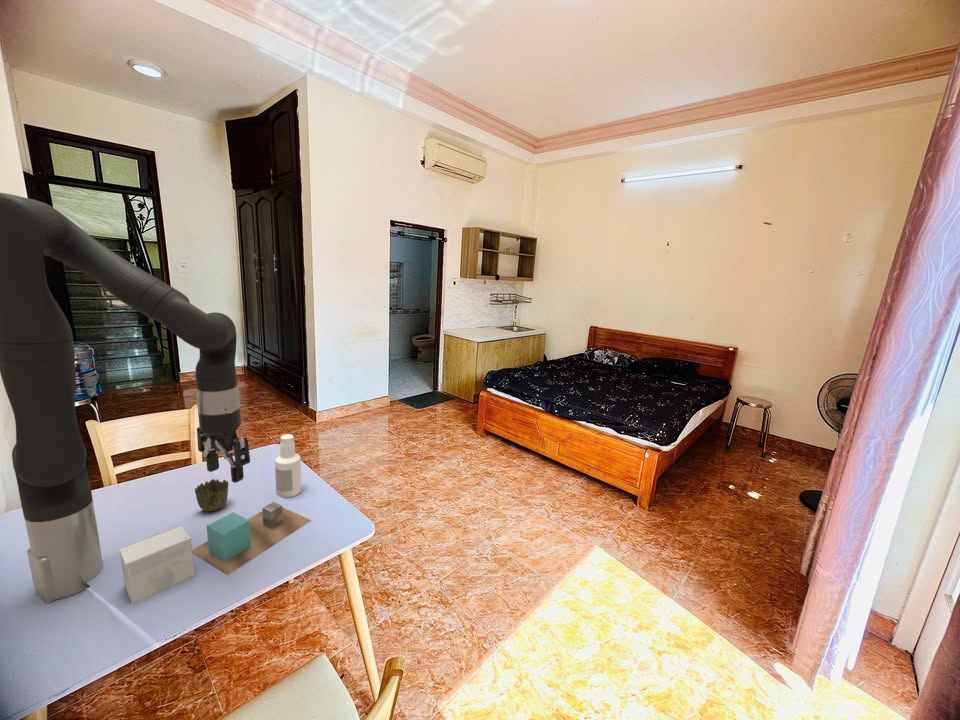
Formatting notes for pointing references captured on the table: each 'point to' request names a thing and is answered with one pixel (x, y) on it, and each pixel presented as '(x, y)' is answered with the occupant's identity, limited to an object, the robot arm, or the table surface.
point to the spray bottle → (288, 469)
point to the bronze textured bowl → (212, 494)
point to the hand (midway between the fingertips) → (225, 475)
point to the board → (258, 536)
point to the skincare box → (157, 563)
